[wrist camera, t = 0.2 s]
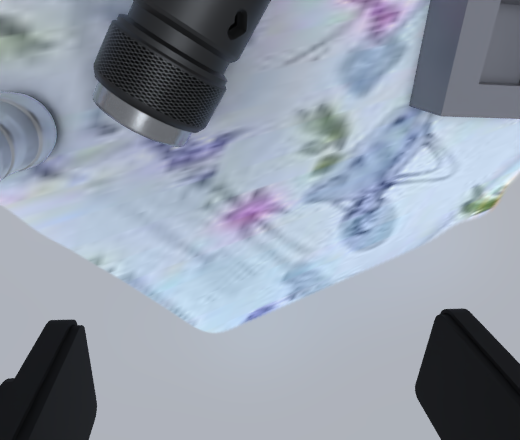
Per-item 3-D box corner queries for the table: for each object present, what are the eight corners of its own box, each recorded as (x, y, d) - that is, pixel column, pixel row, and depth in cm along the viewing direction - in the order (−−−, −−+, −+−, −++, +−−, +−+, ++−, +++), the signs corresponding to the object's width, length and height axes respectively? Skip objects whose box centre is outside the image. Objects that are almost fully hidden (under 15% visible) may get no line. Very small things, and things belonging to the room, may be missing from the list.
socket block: (437, -34, 35) (479, -47, 29) (558, -23, 36) (619, -35, 31) (409, 105, 40) (441, 116, 34) (516, 109, 41) (563, 120, 36)
